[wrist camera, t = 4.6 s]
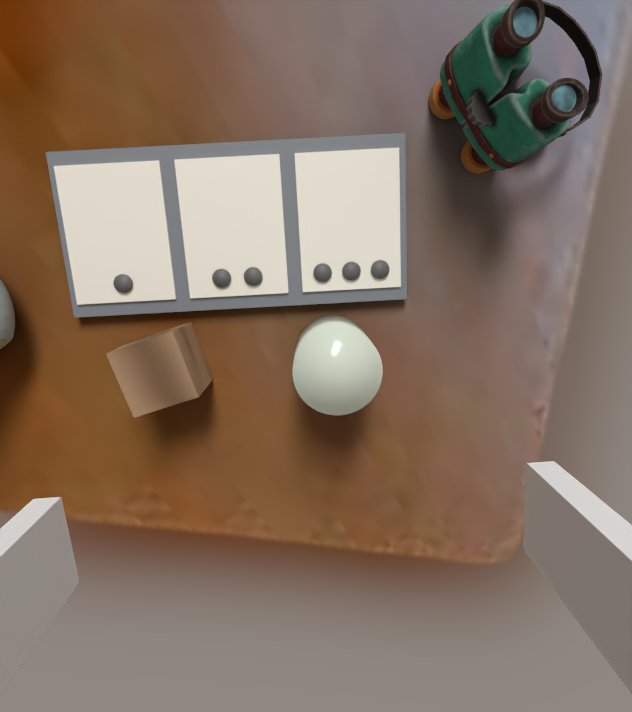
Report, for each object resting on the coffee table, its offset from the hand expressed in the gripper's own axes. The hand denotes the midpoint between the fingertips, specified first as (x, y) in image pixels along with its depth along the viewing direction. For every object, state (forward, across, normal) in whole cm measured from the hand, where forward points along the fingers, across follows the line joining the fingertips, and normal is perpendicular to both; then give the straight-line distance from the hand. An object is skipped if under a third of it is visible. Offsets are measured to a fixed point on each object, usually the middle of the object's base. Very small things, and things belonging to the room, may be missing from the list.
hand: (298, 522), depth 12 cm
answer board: (+24, -4, +10) cm, 26 cm away
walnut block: (+24, -11, 0) cm, 27 cm away
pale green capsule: (+24, +2, 0) cm, 24 cm away
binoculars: (+24, +16, +17) cm, 34 cm away
